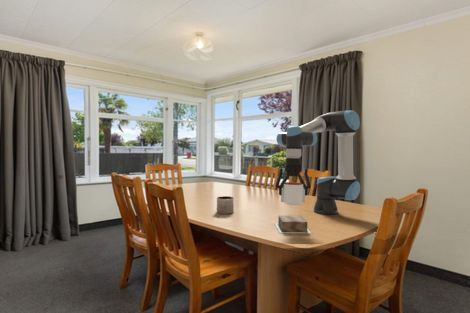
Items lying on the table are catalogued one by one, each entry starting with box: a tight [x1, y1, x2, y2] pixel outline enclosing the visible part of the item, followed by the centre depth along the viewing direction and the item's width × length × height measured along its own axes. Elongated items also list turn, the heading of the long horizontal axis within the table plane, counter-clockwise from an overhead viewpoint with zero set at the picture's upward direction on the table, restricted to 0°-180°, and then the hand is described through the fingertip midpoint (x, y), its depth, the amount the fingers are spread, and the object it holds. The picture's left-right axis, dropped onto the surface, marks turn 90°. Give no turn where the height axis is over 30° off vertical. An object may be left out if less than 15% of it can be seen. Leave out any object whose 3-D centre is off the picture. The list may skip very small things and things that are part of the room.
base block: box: [277, 215, 308, 232], centre depth 138 cm, size 12×12×5 cm
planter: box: [216, 195, 235, 215], centre depth 176 cm, size 11×11×10 cm
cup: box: [282, 181, 304, 206], centre depth 137 cm, size 10×10×10 cm
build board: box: [273, 223, 313, 235], centre depth 138 cm, size 16×16×2 cm
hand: (292, 201), depth 137 cm, fingers closed on cup, 10 cm apart
